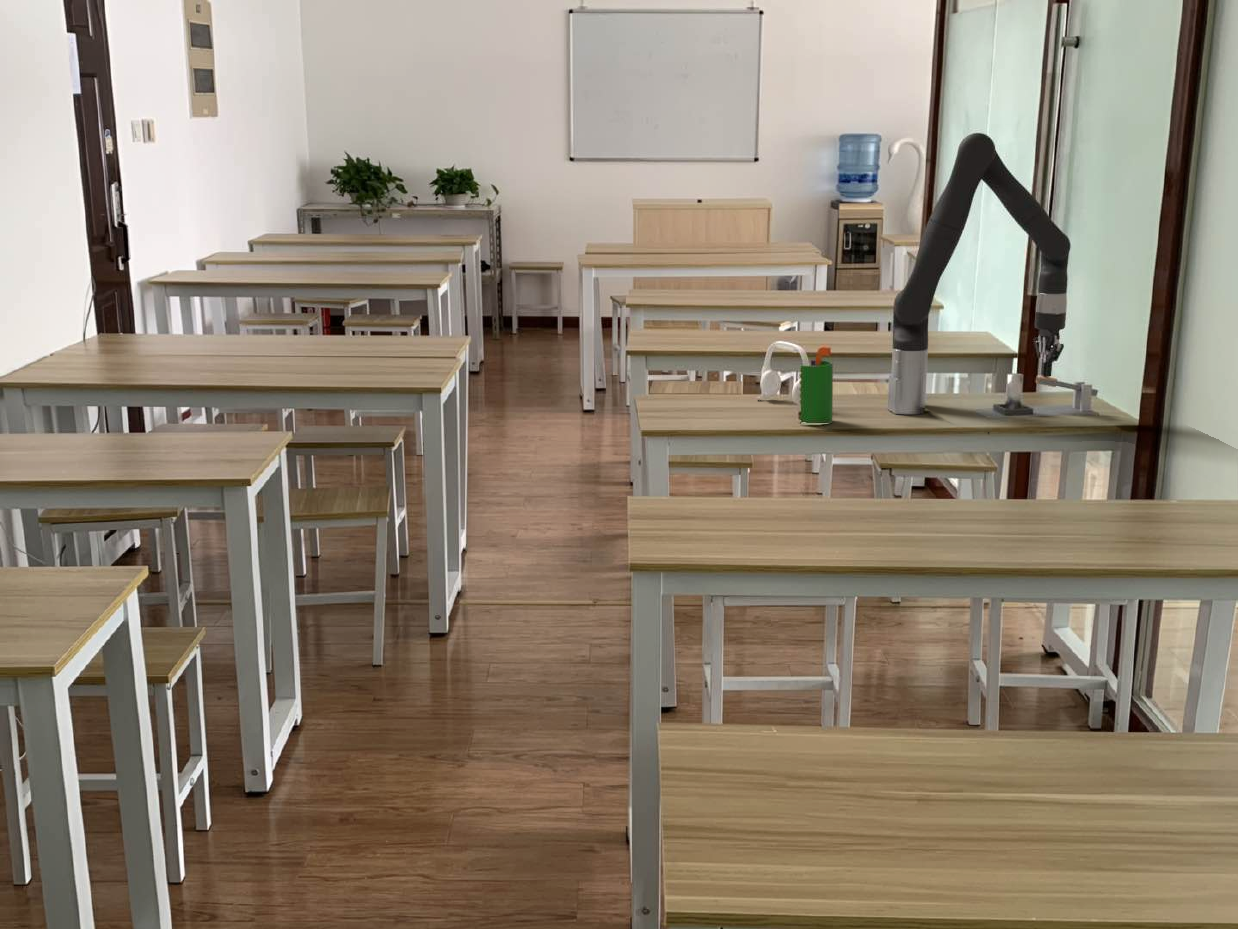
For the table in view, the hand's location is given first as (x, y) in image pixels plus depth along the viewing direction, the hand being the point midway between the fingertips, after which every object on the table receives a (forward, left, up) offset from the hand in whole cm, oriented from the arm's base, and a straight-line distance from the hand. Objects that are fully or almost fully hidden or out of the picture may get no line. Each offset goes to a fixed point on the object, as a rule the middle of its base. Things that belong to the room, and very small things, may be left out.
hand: (1046, 376), depth 325 cm
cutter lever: (+6, 0, -4) cm, 7 cm away
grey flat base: (-2, 0, -11) cm, 11 cm away
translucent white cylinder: (-8, 0, -9) cm, 13 cm away
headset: (-63, +28, -11) cm, 69 cm away
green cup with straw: (-60, +5, -11) cm, 62 cm away
